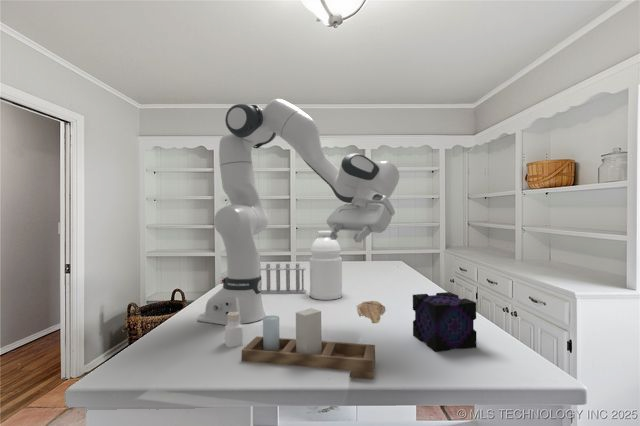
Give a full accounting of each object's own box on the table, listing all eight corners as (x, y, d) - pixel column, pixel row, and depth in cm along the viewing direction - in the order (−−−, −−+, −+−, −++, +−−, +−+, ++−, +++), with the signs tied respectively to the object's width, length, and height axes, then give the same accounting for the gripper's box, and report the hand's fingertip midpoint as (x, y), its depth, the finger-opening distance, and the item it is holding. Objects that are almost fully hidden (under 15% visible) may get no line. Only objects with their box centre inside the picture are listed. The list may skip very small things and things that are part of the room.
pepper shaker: (224, 348, 92) (224, 312, 92) (239, 345, 94) (238, 310, 94) (228, 353, 89) (227, 316, 89) (243, 350, 91) (243, 314, 91)
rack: (241, 367, 81) (241, 350, 81) (256, 351, 89) (256, 336, 89) (372, 379, 74) (372, 360, 74) (375, 361, 83) (375, 344, 83)
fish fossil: (389, 325, 110) (389, 321, 110) (357, 327, 111) (357, 323, 111) (380, 302, 136) (379, 299, 136) (354, 304, 137) (354, 301, 137)
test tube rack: (249, 294, 153) (249, 264, 153) (252, 291, 158) (251, 263, 157) (305, 293, 152) (305, 264, 152) (306, 291, 157) (306, 262, 157)
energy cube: (450, 332, 102) (449, 292, 102) (476, 347, 91) (476, 302, 91) (413, 335, 100) (412, 294, 100) (435, 352, 88) (434, 305, 88)
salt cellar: (260, 357, 82) (260, 320, 82) (266, 350, 86) (266, 315, 86) (276, 358, 81) (276, 321, 81) (282, 352, 85) (281, 315, 85)
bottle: (311, 292, 154) (310, 230, 154) (341, 292, 154) (341, 229, 154) (309, 300, 140) (308, 232, 140) (342, 300, 140) (342, 231, 140)
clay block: (296, 358, 81) (295, 312, 81) (311, 352, 85) (311, 308, 85) (305, 363, 79) (305, 315, 79) (321, 356, 82) (321, 311, 82)
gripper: (336, 197, 107) (312, 229, 101) (390, 196, 92) (366, 234, 85) (346, 211, 110) (323, 244, 104) (400, 212, 95) (377, 250, 88)
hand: (343, 239), depth 94 cm, fingers open, 8 cm apart
